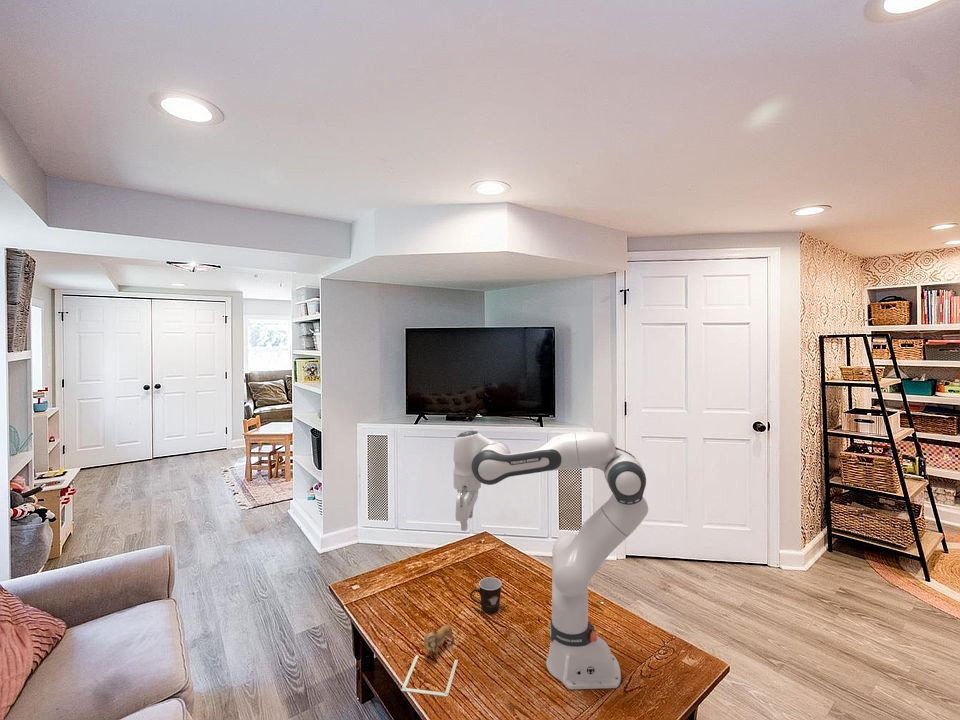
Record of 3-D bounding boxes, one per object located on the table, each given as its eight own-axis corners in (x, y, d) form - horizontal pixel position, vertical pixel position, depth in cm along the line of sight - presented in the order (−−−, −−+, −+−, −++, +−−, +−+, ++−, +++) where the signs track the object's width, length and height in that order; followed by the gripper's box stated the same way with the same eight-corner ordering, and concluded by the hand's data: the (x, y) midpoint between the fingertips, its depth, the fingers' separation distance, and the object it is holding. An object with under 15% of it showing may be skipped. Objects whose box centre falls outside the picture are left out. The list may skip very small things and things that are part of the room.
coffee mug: (502, 602, 174) (502, 577, 173) (501, 616, 165) (501, 590, 165) (472, 601, 175) (472, 576, 175) (469, 615, 167) (469, 589, 166)
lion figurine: (433, 667, 141) (433, 639, 140) (419, 661, 143) (419, 634, 143) (458, 639, 154) (458, 614, 153) (445, 634, 156) (445, 609, 156)
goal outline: (458, 660, 144) (458, 659, 144) (447, 696, 129) (447, 696, 129) (415, 655, 146) (415, 654, 146) (400, 690, 131) (400, 690, 131)
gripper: (471, 493, 134) (471, 538, 135) (481, 472, 154) (481, 511, 155) (450, 492, 135) (450, 537, 136) (463, 471, 155) (463, 510, 156)
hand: (467, 523), depth 145 cm, fingers open, 8 cm apart
